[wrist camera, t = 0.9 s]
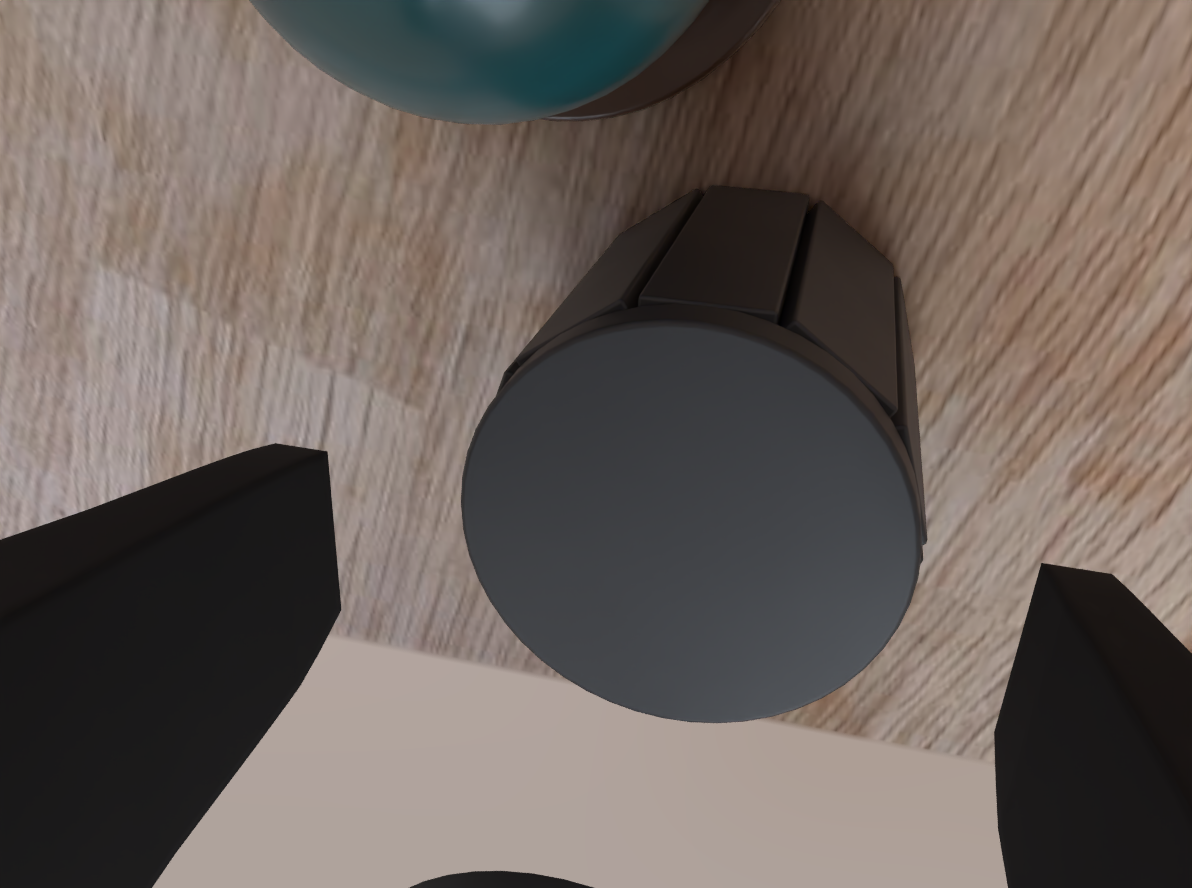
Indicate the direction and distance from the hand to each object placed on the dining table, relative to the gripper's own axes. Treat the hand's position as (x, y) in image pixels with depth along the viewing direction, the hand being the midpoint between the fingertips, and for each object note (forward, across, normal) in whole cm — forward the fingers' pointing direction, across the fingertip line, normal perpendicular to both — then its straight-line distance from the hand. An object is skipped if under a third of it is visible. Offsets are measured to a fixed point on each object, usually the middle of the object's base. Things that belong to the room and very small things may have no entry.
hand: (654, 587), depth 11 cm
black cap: (+7, 0, 0) cm, 7 cm away
